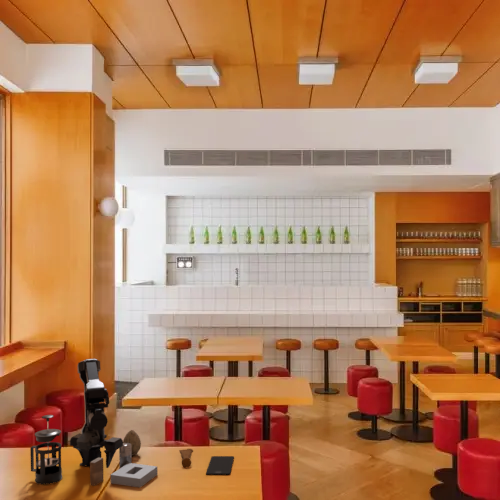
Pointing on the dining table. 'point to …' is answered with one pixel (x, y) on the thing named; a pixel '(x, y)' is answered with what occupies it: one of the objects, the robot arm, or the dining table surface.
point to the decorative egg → (133, 441)
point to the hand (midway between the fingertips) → (96, 466)
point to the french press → (48, 465)
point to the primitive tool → (186, 457)
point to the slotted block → (134, 475)
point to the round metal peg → (125, 454)
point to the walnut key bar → (96, 471)
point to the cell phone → (220, 465)
